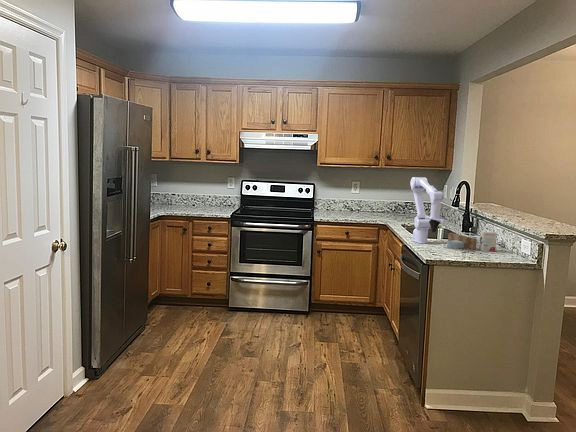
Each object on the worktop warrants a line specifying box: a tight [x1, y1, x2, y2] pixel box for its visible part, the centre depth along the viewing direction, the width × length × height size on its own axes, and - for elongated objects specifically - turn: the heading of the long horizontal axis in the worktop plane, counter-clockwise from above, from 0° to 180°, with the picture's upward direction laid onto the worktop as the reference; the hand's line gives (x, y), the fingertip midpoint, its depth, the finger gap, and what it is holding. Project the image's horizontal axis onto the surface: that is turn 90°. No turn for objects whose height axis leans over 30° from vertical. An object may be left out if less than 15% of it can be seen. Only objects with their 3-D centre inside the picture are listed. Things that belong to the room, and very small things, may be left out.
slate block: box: [446, 240, 465, 250], centre depth 301 cm, size 7×8×4 cm
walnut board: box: [447, 232, 478, 251], centre depth 304 cm, size 20×3×7 cm, turn 28°
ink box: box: [478, 230, 498, 252], centre depth 295 cm, size 9×5×12 cm, turn 92°
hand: (433, 232), depth 299 cm, fingers closed
